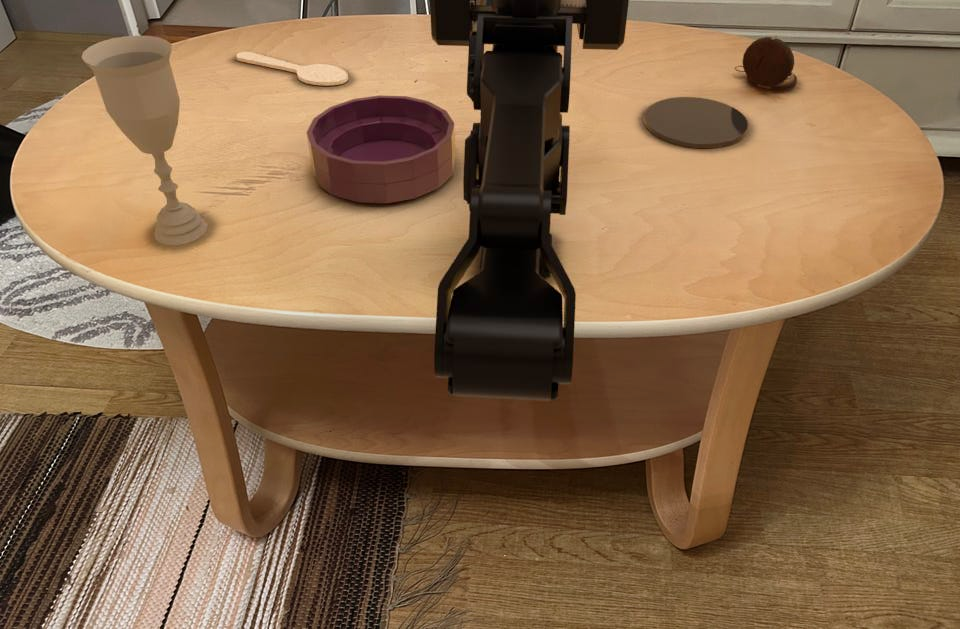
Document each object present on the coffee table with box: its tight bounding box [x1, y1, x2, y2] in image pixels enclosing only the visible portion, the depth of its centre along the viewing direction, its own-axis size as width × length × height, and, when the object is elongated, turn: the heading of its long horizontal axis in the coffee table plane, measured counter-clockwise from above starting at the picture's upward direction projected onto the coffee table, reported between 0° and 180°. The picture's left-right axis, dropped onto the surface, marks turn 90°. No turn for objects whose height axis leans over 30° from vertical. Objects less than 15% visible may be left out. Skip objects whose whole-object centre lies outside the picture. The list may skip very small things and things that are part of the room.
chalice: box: [81, 35, 209, 246], centre depth 72 cm, size 7×7×18 cm
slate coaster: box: [643, 96, 749, 149], centre depth 94 cm, size 12×12×1 cm
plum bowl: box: [306, 94, 456, 204], centre depth 85 cm, size 15×15×5 cm
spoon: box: [235, 51, 349, 86], centre depth 106 cm, size 5×18×1 cm, turn 62°
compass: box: [734, 35, 798, 92], centre depth 100 cm, size 8×8×7 cm
